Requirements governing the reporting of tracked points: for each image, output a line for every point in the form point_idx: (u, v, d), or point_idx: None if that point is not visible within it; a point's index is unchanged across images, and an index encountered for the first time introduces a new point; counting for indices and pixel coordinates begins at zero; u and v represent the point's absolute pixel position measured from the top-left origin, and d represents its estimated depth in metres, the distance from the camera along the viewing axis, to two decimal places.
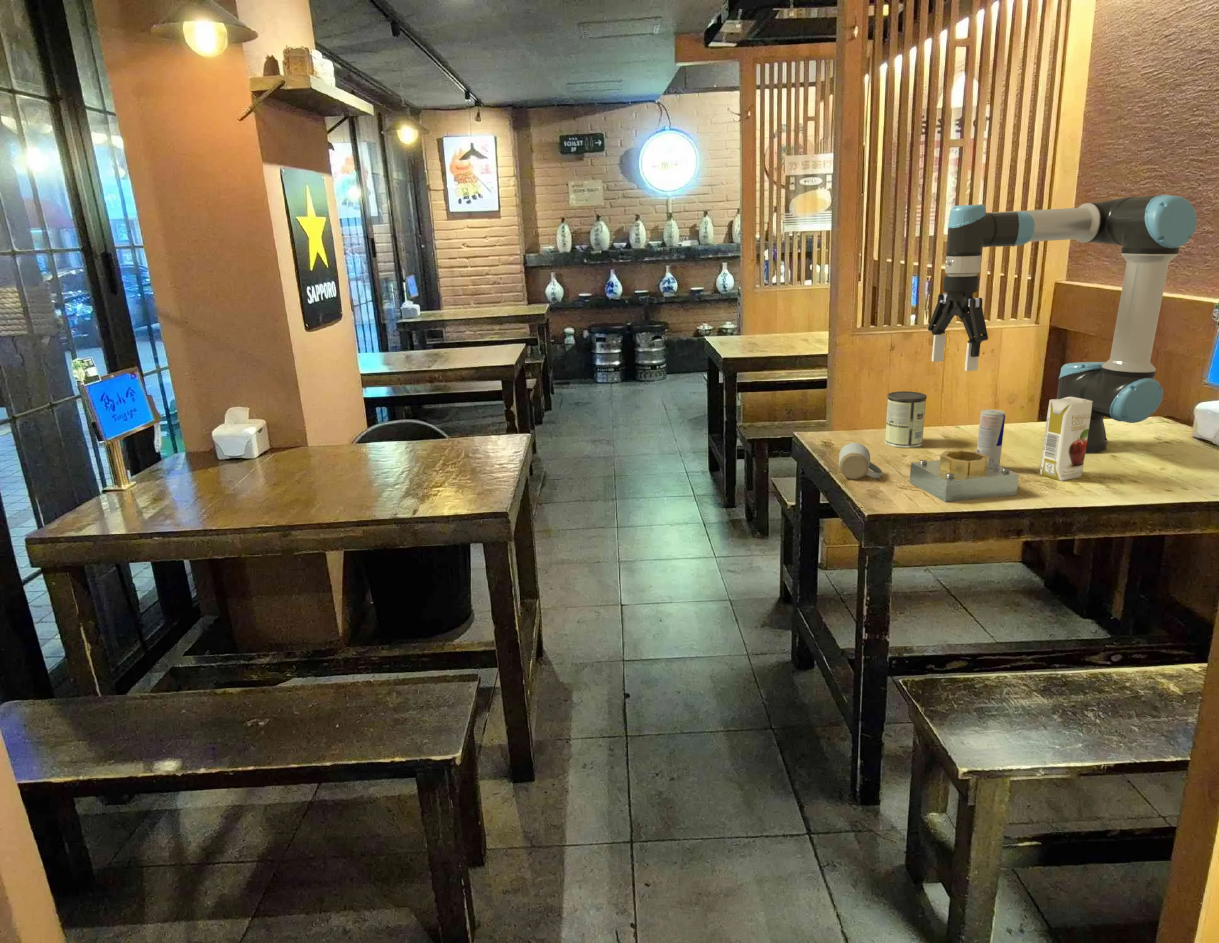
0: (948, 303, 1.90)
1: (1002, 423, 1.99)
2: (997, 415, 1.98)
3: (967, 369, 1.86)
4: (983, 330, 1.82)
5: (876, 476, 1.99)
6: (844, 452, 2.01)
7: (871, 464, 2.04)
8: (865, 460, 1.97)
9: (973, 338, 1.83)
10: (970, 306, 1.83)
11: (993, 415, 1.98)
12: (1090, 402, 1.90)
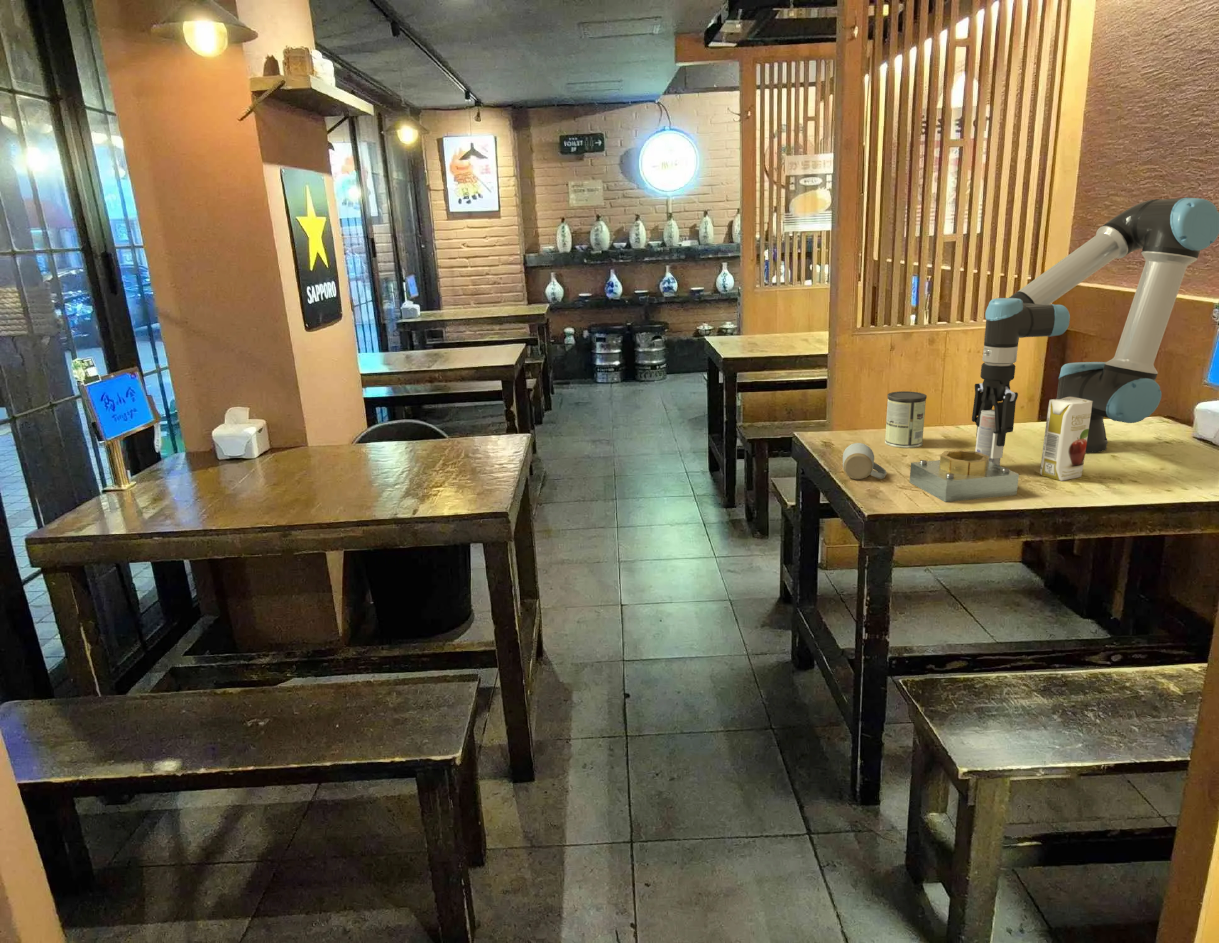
0: (985, 389, 2.00)
1: None
2: None
3: (993, 457, 2.00)
4: (1010, 424, 1.95)
5: (880, 476, 1.99)
6: (848, 452, 2.00)
7: (875, 464, 2.03)
8: (869, 460, 1.97)
9: (999, 430, 1.97)
10: (1005, 399, 1.94)
11: (993, 415, 1.98)
12: (1090, 402, 1.90)
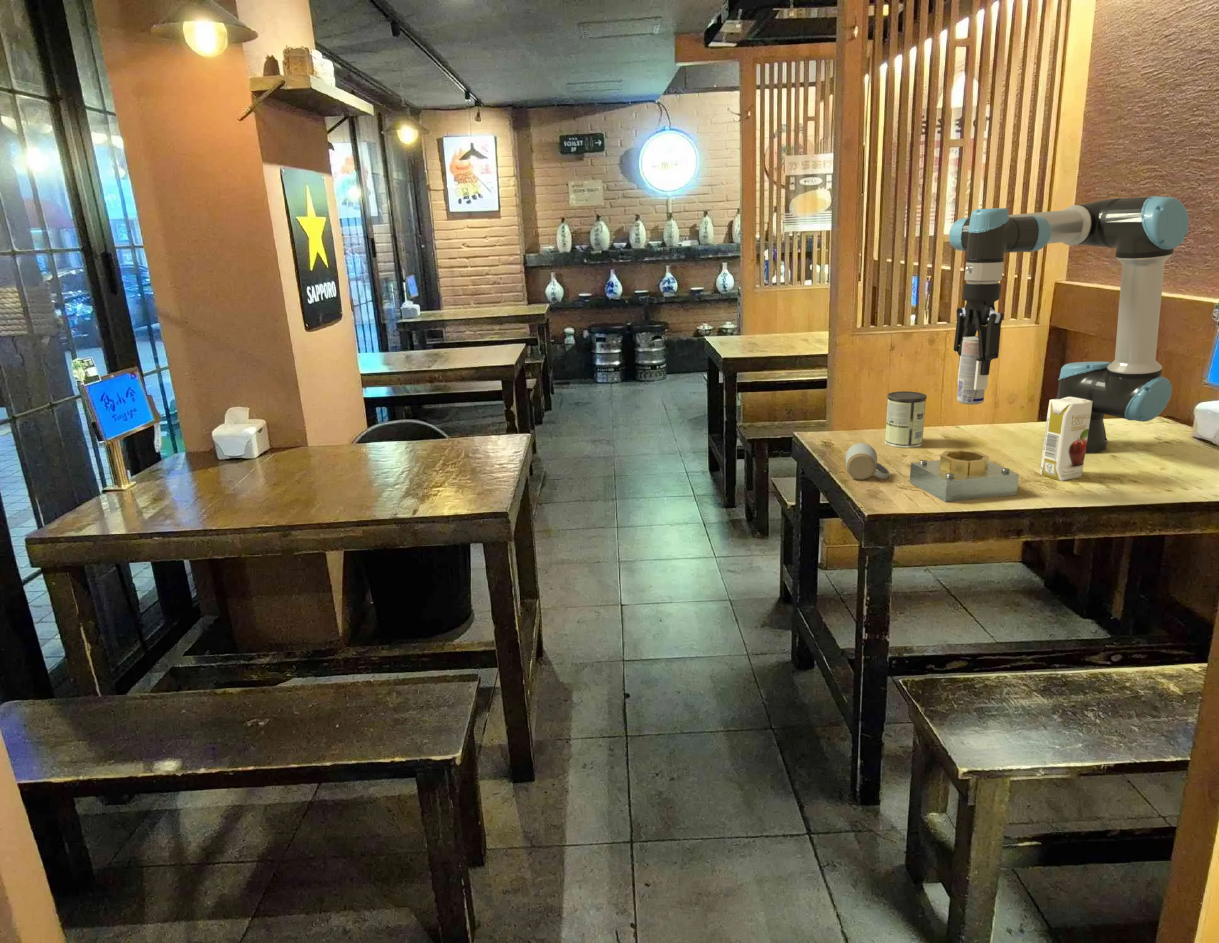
0: (968, 312, 1.80)
1: None
2: None
3: (976, 388, 1.80)
4: (995, 349, 1.75)
5: (883, 477, 1.99)
6: (851, 452, 2.00)
7: (878, 464, 2.03)
8: (872, 460, 1.97)
9: (983, 357, 1.77)
10: (989, 321, 1.74)
11: (976, 340, 1.78)
12: (1090, 402, 1.90)
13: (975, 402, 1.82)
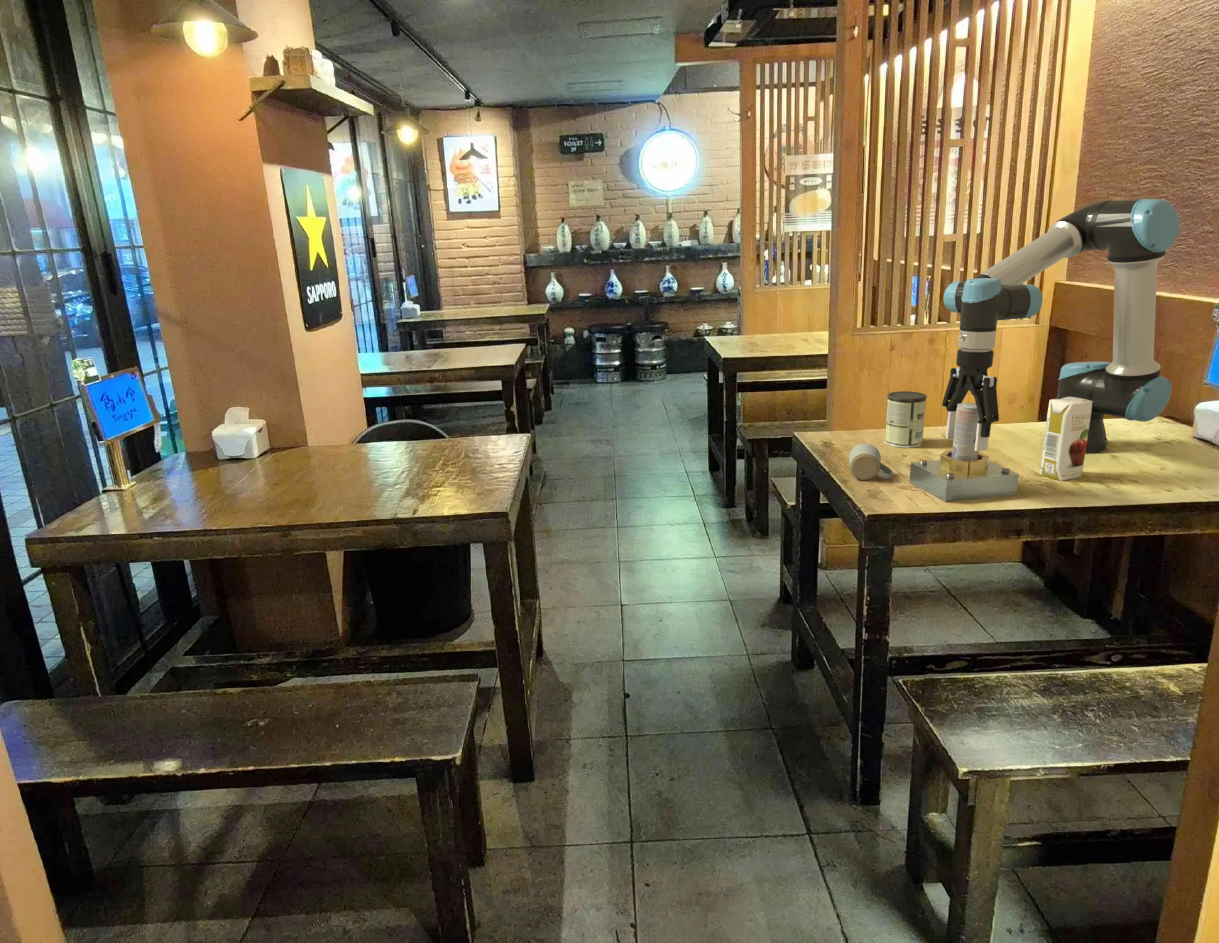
0: (961, 377, 1.84)
1: None
2: (974, 409, 1.83)
3: (977, 449, 1.82)
4: (995, 411, 1.77)
5: (887, 477, 1.98)
6: (855, 453, 2.00)
7: (881, 465, 2.03)
8: (876, 461, 1.97)
9: (984, 419, 1.79)
10: (984, 385, 1.78)
11: (970, 409, 1.83)
12: (1090, 402, 1.90)
13: None
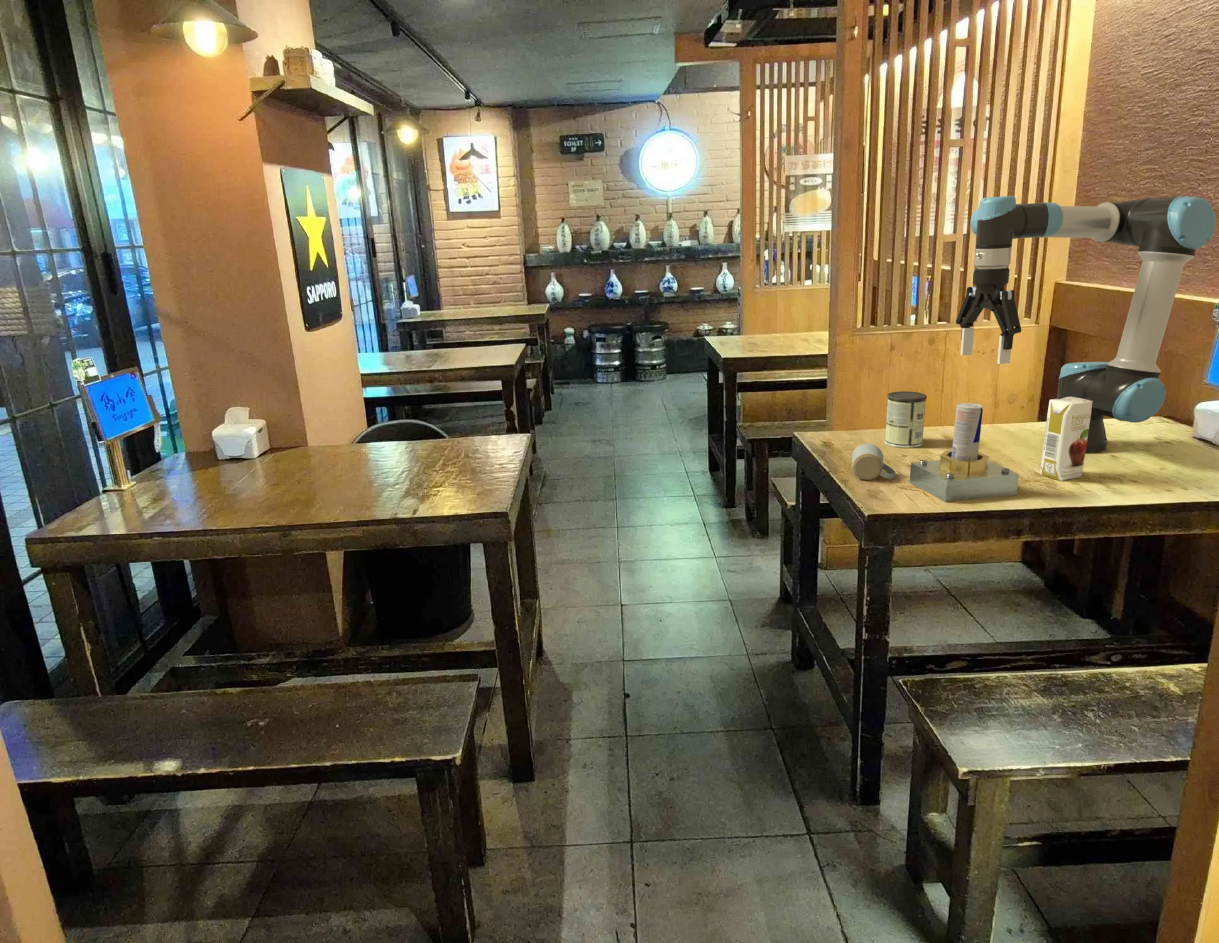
0: (978, 296, 1.88)
1: (979, 418, 1.84)
2: (974, 409, 1.83)
3: (1000, 362, 1.85)
4: (1016, 322, 1.81)
5: (889, 477, 1.98)
6: (857, 453, 2.00)
7: (884, 465, 2.03)
8: (879, 461, 1.96)
9: (1006, 331, 1.82)
10: (1002, 299, 1.82)
11: (969, 409, 1.83)
12: (1090, 402, 1.90)
13: None
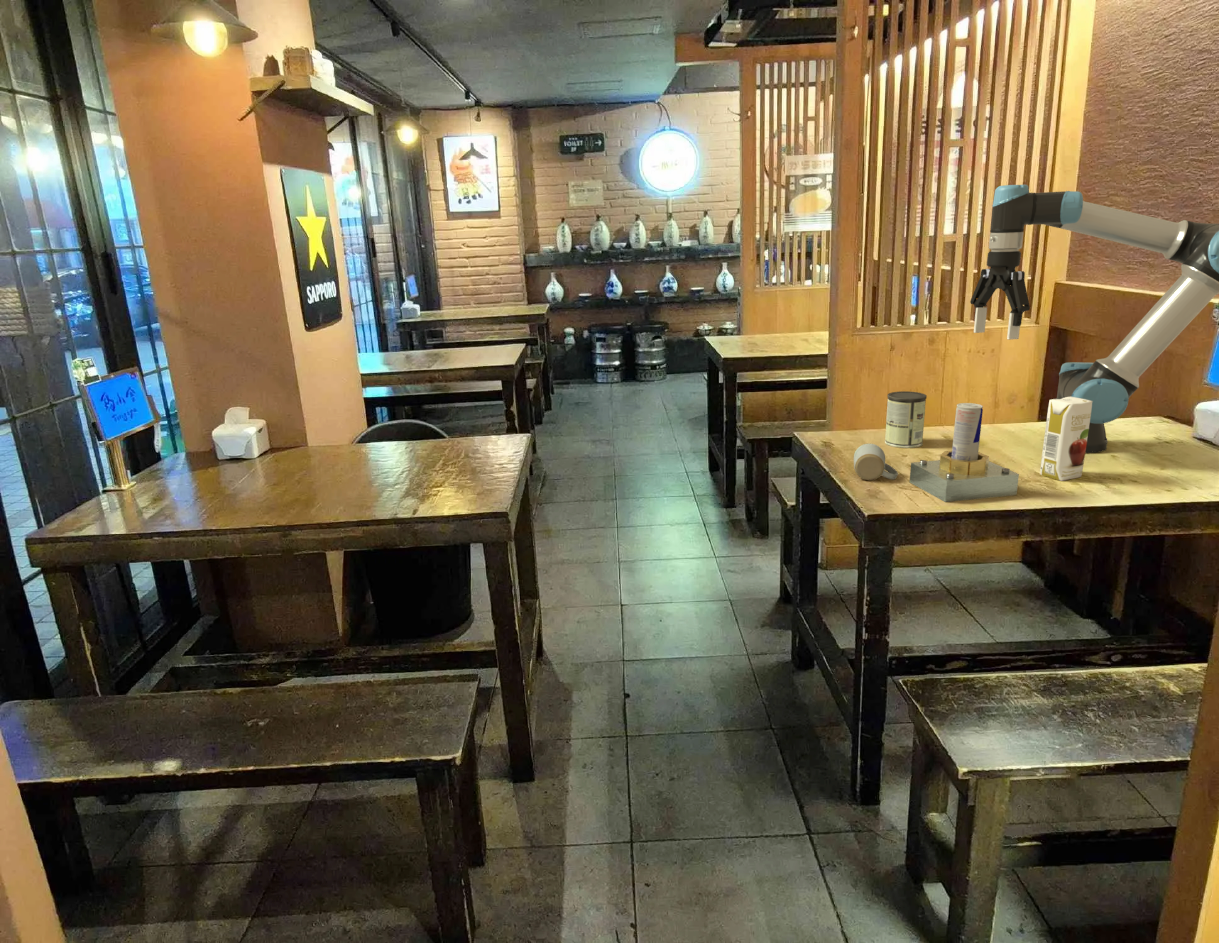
0: (991, 277, 2.04)
1: (979, 418, 1.84)
2: (974, 409, 1.83)
3: (1009, 338, 2.01)
4: (1025, 301, 1.96)
5: (891, 477, 1.98)
6: (859, 453, 2.00)
7: (886, 465, 2.02)
8: (881, 461, 1.96)
9: (1016, 308, 1.98)
10: (1013, 279, 1.98)
11: (969, 409, 1.83)
12: (1090, 402, 1.90)
13: None
